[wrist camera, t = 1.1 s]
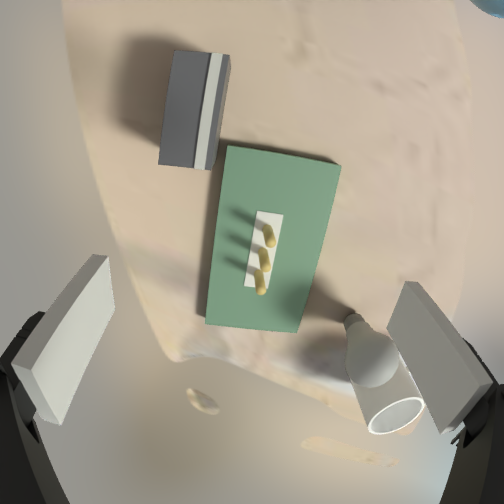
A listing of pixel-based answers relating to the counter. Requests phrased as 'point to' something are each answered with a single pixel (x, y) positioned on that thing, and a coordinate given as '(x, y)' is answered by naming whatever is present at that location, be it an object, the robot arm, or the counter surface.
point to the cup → (390, 402)
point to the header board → (268, 238)
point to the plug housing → (194, 109)
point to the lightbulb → (368, 353)
